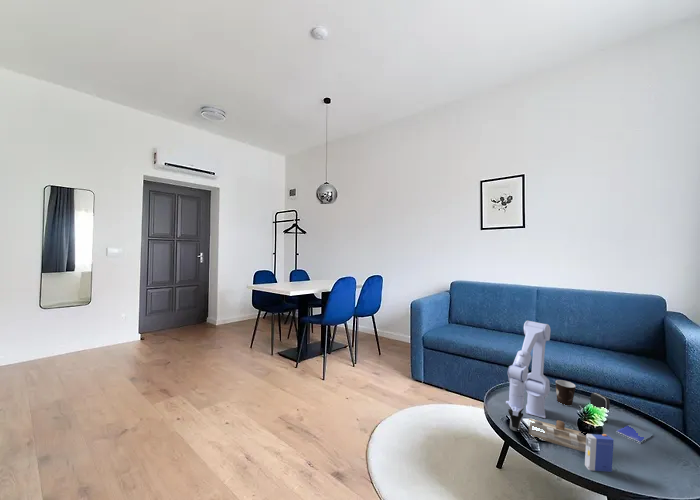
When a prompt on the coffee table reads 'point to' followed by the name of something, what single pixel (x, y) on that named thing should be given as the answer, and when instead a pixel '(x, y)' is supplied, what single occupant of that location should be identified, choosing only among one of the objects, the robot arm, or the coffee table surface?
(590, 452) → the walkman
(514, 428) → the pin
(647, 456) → the coffee table surface
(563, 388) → the coffee mug
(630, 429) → the blue spiral notebook
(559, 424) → the board
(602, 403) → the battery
